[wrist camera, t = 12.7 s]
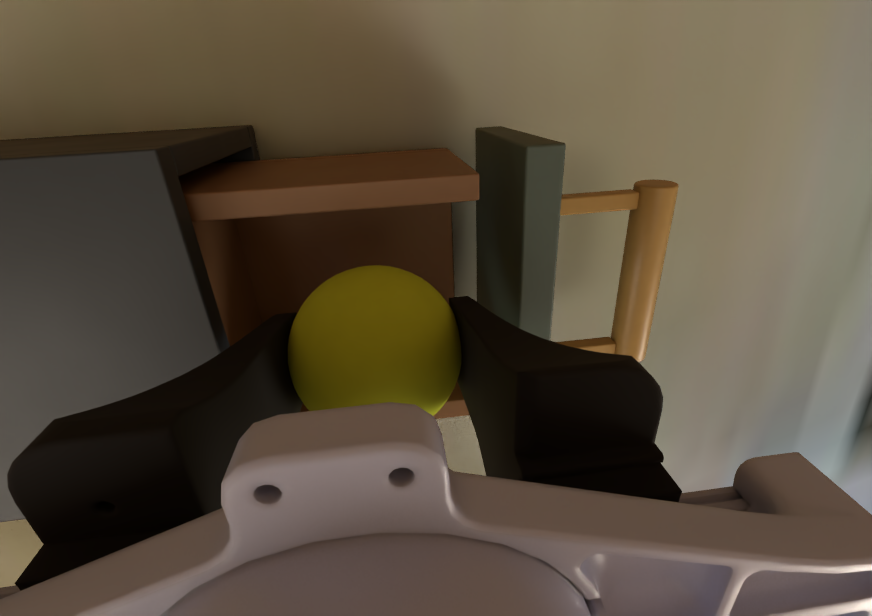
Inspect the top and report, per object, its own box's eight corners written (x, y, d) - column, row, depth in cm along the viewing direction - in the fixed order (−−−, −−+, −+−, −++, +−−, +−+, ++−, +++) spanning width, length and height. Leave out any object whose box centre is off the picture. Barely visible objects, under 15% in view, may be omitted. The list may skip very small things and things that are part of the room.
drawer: (605, 120, 19) (720, 132, 13) (582, 324, 24) (657, 410, 17) (205, 144, 18) (106, 173, 11) (262, 357, 23) (215, 464, 16)
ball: (451, 365, 16) (478, 466, 12) (316, 379, 16) (291, 491, 11) (446, 236, 14) (477, 302, 10) (289, 249, 14) (245, 324, 9)
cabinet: (252, 125, 19) (155, 148, 10) (303, 354, 24) (264, 488, 16) (-96, 145, 17) (-506, 190, 9) (37, 381, 23) (-154, 542, 15)
